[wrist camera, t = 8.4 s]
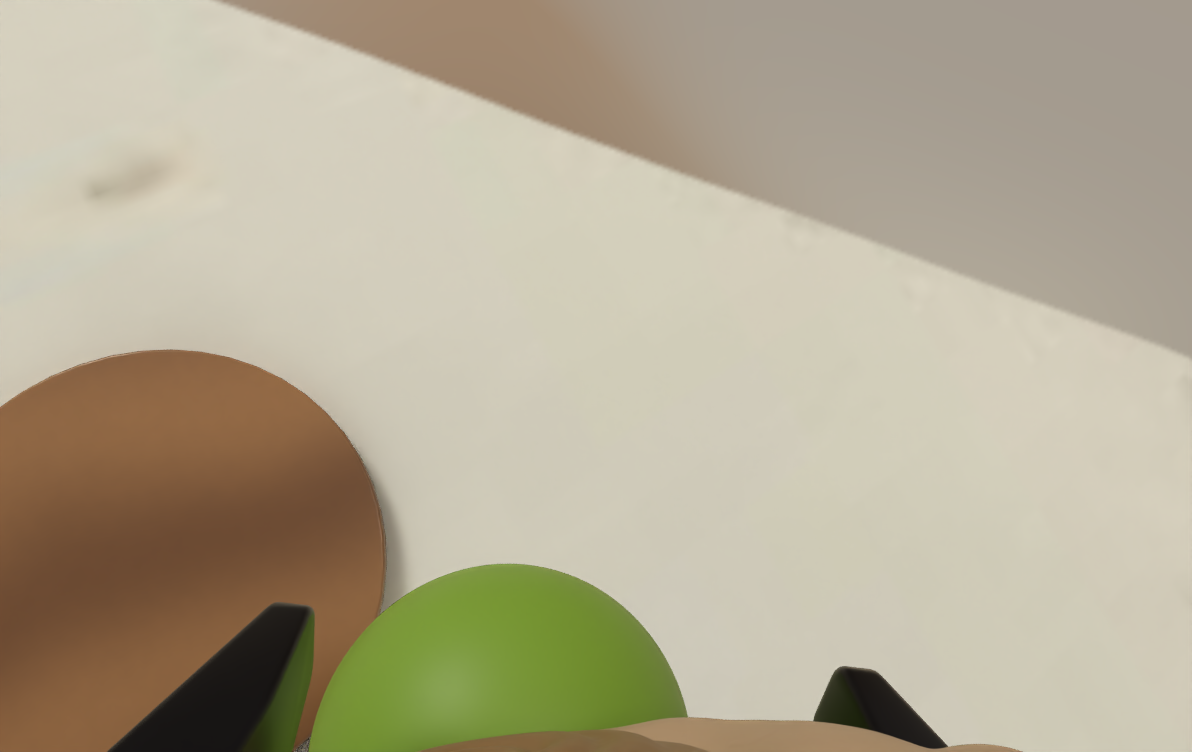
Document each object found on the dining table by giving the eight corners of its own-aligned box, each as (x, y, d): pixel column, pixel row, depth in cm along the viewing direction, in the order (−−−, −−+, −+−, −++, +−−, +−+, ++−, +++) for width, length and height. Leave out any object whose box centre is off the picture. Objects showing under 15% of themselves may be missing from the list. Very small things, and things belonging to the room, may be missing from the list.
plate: (466, 647, 22) (466, 648, 21) (24, 924, 19) (9, 935, 18) (264, 284, 23) (259, 276, 23) (-171, 491, 20) (-190, 488, 20)
